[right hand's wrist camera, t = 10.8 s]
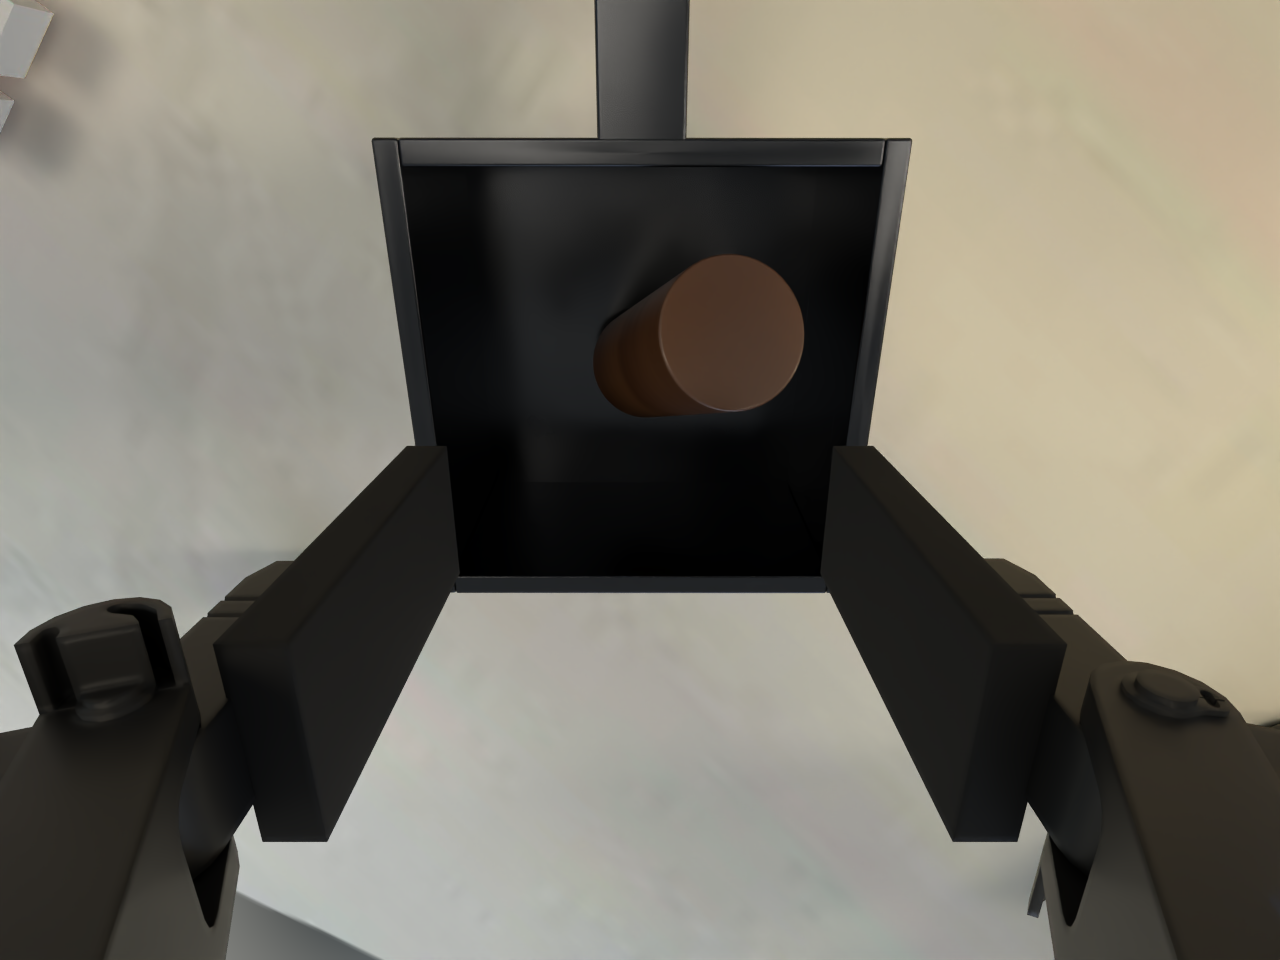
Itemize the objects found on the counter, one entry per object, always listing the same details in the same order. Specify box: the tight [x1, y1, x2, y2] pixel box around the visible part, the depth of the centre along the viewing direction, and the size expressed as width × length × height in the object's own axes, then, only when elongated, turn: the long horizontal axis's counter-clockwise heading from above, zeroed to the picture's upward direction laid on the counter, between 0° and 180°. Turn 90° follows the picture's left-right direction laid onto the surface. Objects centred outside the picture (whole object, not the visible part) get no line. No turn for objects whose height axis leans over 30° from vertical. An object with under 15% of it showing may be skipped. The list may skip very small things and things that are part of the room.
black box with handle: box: [372, 0, 912, 593], centre depth 18 cm, size 12×28×7 cm, turn 0°
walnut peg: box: [593, 254, 804, 417], centre depth 20 cm, size 4×4×8 cm
